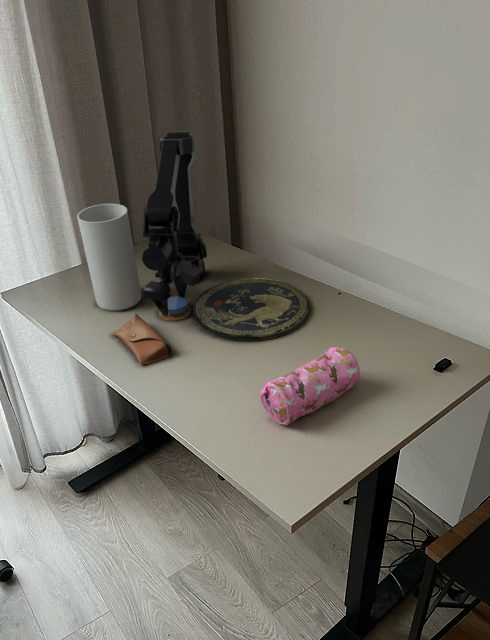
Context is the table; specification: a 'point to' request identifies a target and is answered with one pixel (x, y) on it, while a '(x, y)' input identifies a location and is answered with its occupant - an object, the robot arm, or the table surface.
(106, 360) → the table surface
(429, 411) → the table surface
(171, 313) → the flat blue disc
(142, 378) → the table surface
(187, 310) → the coaster
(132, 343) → the sunglasses case
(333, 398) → the pencil case
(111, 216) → the cylinder vase
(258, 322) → the decorative plate
